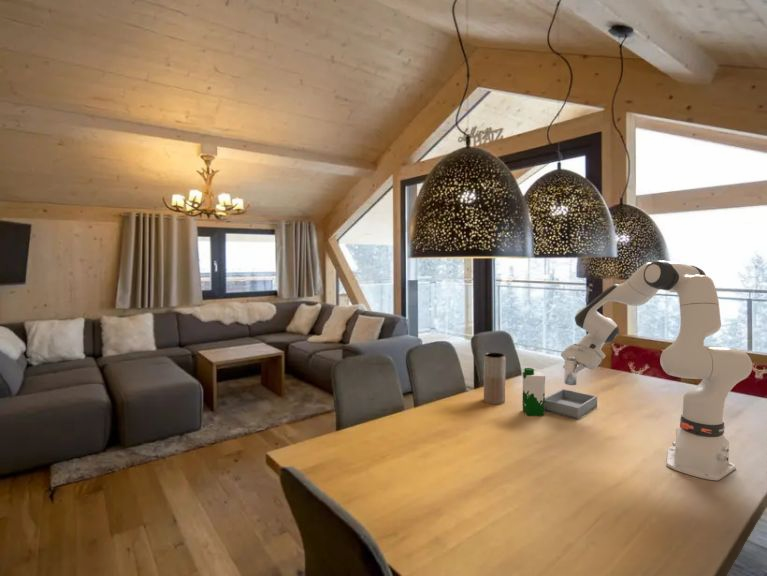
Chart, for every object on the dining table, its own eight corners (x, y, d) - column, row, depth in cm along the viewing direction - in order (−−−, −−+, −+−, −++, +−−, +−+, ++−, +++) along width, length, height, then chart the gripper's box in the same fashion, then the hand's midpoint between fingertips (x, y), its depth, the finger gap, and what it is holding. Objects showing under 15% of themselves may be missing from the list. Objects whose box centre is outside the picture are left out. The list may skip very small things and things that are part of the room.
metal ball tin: (573, 386, 193) (574, 359, 192) (562, 383, 197) (562, 357, 196) (578, 383, 196) (579, 357, 196) (567, 381, 200) (567, 355, 199)
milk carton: (520, 409, 196) (520, 366, 195) (540, 409, 196) (540, 366, 195) (526, 416, 188) (526, 371, 186) (547, 416, 188) (547, 371, 186)
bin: (577, 419, 184) (577, 408, 184) (541, 410, 195) (541, 399, 195) (597, 406, 199) (597, 396, 199) (562, 398, 211) (562, 388, 210)
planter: (486, 396, 215) (486, 351, 214) (506, 399, 211) (507, 353, 209) (481, 402, 206) (481, 355, 205) (502, 405, 202) (503, 357, 200)
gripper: (569, 338, 207) (551, 360, 205) (600, 347, 187) (580, 371, 185) (577, 347, 208) (559, 368, 207) (608, 357, 188) (589, 380, 187)
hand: (569, 370), depth 196 cm, fingers closed on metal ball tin, 5 cm apart
